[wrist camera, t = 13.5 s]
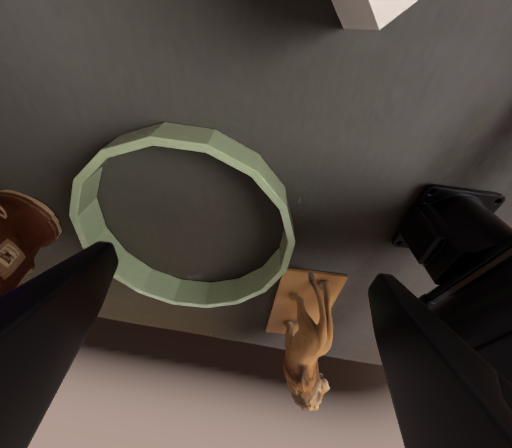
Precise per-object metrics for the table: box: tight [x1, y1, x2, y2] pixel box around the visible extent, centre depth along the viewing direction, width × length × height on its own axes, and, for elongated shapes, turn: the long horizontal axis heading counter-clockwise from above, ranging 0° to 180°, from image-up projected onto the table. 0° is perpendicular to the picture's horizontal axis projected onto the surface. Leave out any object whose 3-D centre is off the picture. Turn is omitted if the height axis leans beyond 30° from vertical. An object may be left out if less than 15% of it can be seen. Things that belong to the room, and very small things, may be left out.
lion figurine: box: [283, 272, 333, 411], centre depth 27 cm, size 15×5×9 cm, turn 3°
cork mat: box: [266, 268, 348, 335], centre depth 31 cm, size 7×13×1 cm, turn 173°
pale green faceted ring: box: [69, 122, 295, 308], centre depth 22 cm, size 18×18×3 cm
